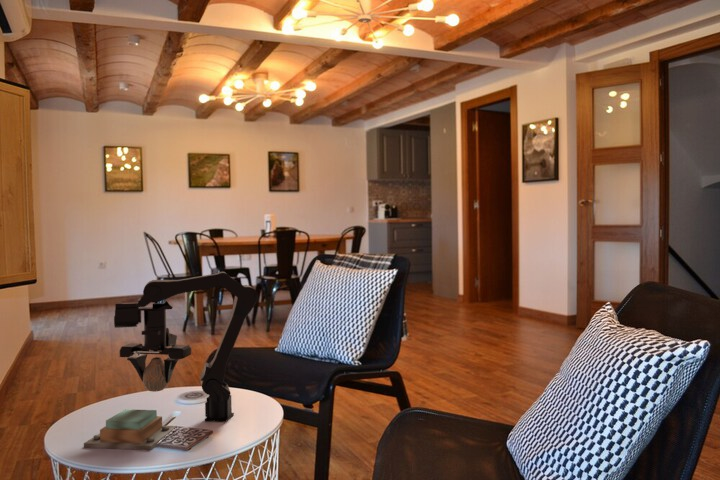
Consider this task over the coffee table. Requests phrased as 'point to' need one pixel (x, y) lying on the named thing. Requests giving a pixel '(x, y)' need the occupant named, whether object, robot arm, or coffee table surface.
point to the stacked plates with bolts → (131, 431)
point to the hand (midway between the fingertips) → (155, 381)
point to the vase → (155, 375)
